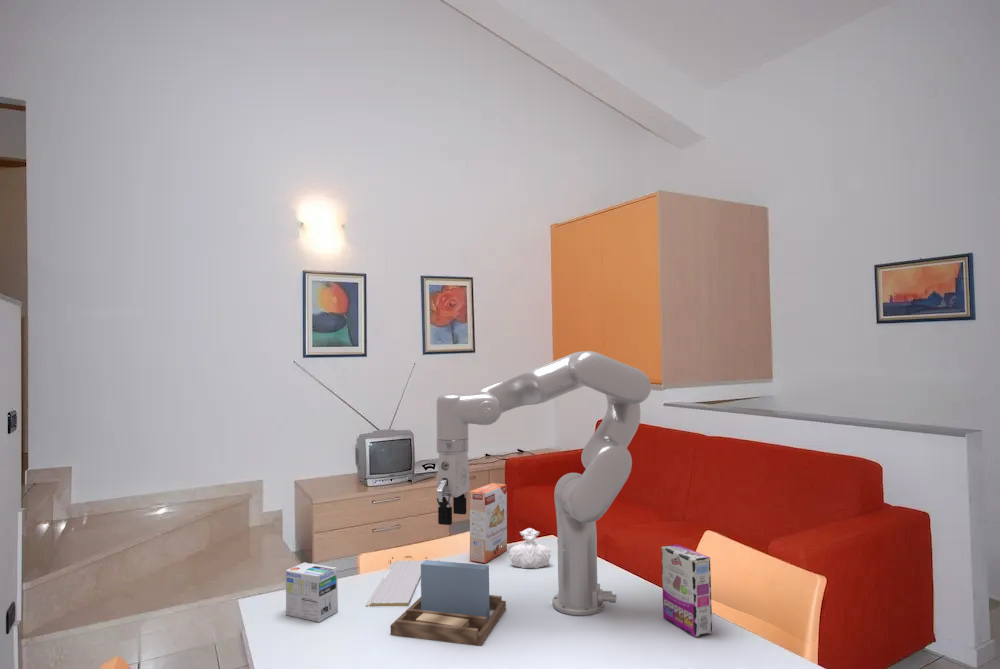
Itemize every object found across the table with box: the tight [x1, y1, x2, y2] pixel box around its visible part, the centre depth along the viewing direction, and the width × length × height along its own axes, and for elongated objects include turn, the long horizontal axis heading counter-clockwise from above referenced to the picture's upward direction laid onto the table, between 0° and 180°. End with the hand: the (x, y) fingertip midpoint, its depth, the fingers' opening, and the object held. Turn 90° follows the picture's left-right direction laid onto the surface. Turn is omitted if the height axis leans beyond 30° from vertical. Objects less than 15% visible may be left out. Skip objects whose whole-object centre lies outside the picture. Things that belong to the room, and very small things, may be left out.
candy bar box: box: [660, 544, 713, 638], centre depth 134 cm, size 11×5×16 cm, turn 23°
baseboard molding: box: [365, 555, 428, 608], centre depth 163 cm, size 31×3×12 cm
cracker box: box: [469, 482, 508, 564], centre depth 184 cm, size 14×6×21 cm, turn 152°
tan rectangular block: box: [416, 613, 469, 627], centre depth 132 cm, size 12×4×3 cm, turn 69°
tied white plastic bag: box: [508, 527, 551, 569], centre depth 176 cm, size 12×8×11 cm
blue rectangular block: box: [420, 559, 491, 620], centre depth 141 cm, size 16×3×12 cm, turn 74°
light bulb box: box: [285, 562, 339, 623], centre depth 144 cm, size 11×7×11 cm, turn 65°
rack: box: [389, 594, 507, 646], centre depth 138 cm, size 21×19×3 cm
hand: (452, 518), depth 142 cm, fingers open, 9 cm apart
